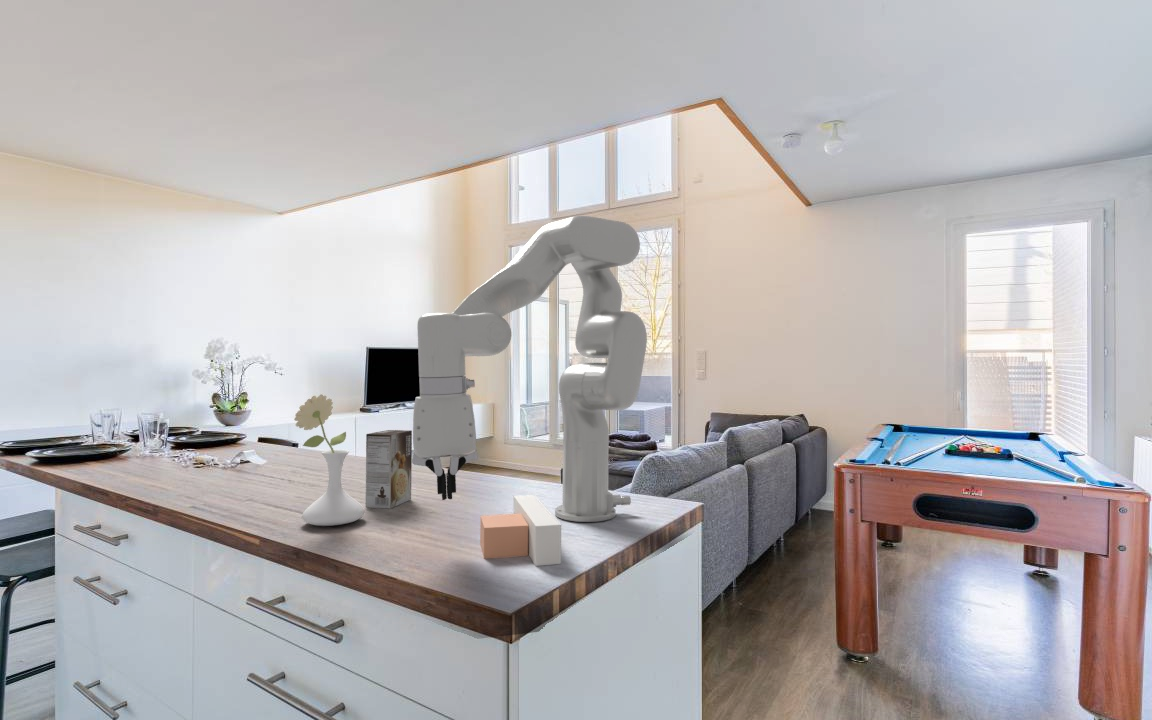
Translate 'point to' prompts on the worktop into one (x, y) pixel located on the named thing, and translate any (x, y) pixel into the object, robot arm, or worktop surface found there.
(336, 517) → the flower in vase
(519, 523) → the peach block
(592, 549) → the worktop surface
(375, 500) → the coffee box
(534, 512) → the board
